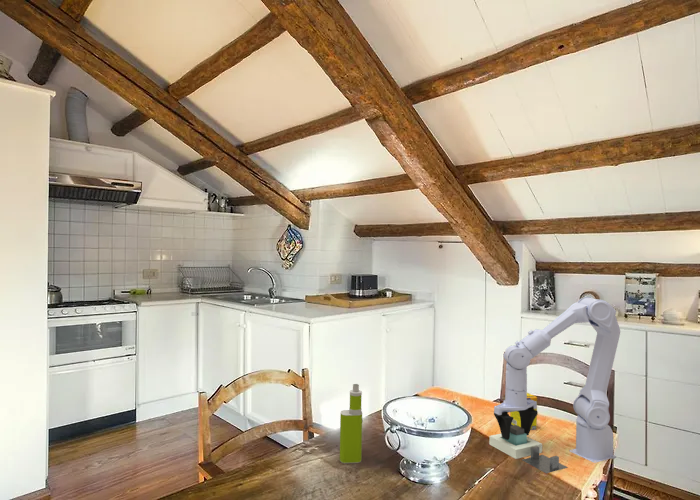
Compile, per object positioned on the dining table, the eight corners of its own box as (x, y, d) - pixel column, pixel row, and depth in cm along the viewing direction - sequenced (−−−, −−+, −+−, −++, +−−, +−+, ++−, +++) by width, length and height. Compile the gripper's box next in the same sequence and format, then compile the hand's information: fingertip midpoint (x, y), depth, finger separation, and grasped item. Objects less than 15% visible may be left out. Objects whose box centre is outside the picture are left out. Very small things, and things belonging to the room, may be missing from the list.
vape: (362, 462, 115) (364, 386, 115) (340, 463, 114) (342, 387, 114) (360, 456, 118) (362, 382, 119) (338, 457, 118) (340, 383, 118)
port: (514, 440, 131) (514, 430, 131) (542, 454, 122) (542, 443, 122) (489, 446, 127) (489, 435, 127) (515, 461, 118) (516, 449, 118)
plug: (515, 446, 127) (515, 424, 127) (526, 452, 123) (526, 429, 123) (505, 449, 125) (505, 426, 125) (516, 455, 121) (516, 431, 121)
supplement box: (521, 433, 137) (521, 398, 137) (509, 425, 143) (510, 392, 143) (537, 431, 138) (537, 397, 139) (525, 424, 144) (525, 391, 144)
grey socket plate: (542, 456, 120) (542, 443, 121) (568, 469, 113) (568, 455, 113) (521, 461, 117) (521, 448, 117) (546, 475, 110) (546, 461, 110)
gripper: (523, 382, 131) (522, 427, 131) (486, 387, 125) (486, 434, 125) (542, 388, 125) (542, 436, 125) (505, 394, 119) (504, 444, 118)
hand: (515, 436), depth 124 cm, fingers open, 7 cm apart
